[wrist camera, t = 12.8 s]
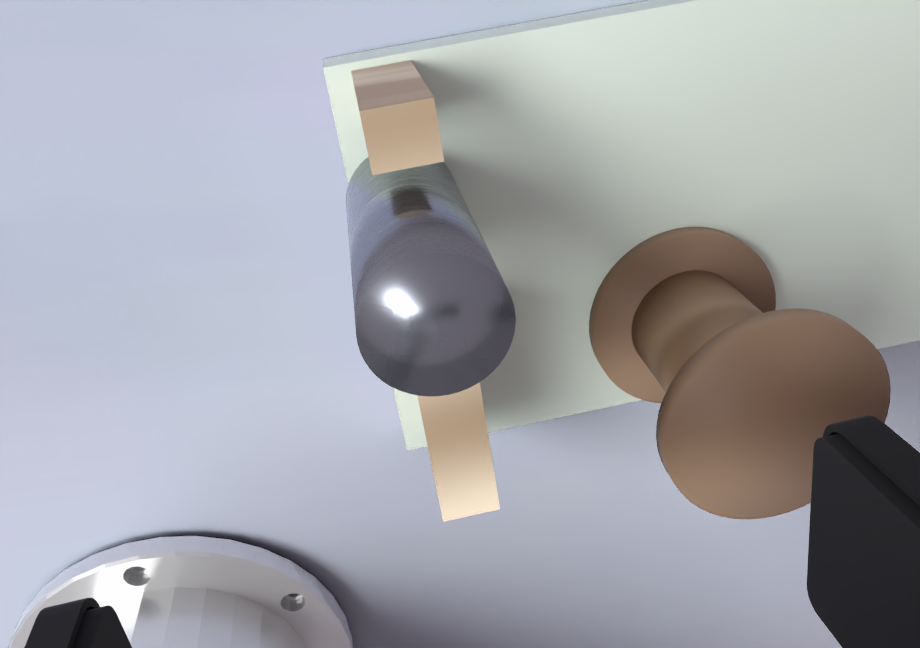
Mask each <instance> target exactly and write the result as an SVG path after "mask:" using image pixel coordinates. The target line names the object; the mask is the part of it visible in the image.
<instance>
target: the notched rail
mask: <svg viewBox="0 0 920 648" xmlns="http://www.w3.org/2000/svg"><path fill="white" fill-rule="evenodd" d="M351 74H352V79H353V84H354V88H355V93H356V98H357V103H358V108H359V113H360V118H361V123H362V127H363V132H364V137H365V142H366V147H367V152H368V157H369V161H370V166H371V171H372V175H376V174H382V173H387V172H392V171H397V170H403V169H408V168H413V167H418V166H424V165H429V164H434V163H439V162H444V156H443V150H442V144H441V138H440V131H439V125H438V119H437V113H436V106H435V100H434V97H433V95H432V93H431V92H430V90H429V89H428V87H427V85H426V84H425V82H424V81H423V79H422V77H421V76H420V74H419V73H418V71H417V70H416V68H415V66H414V65H413V63H412V62H411V60H408V61H402V62H397V63H391V64H386V65H380V66H375V67H369V68H364V69H358V70H352V71H351ZM417 396H418V395H417ZM418 401H419V406H420V411H421V416H422V421H423V426H424V431H425V436H426V440H427V445H428V450H429V455H430V460H431V465H432V470H433V474H434V479H435V484H436V489H437V494H438V499H439V504H440V509H441V513H442V518H443V522H445V521H449V520H454V519H458V518H463V517H467V516H472V515H476V514H481V513H485V512H490V511H494V510H499V509H500V505H499V499H498V493H497V487H496V480H495V474H494V468H493V462H492V455H491V449H490V443H489V437H488V430H487V424H486V418H485V412H484V406H483V399H482V393H481V387H480V382H479V383H478V384H476V385H474V386H472V387H470V388H468V389H466V390H463V391H460V392H457V393H454V394H450V395H443V396H418Z"/></svg>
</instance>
